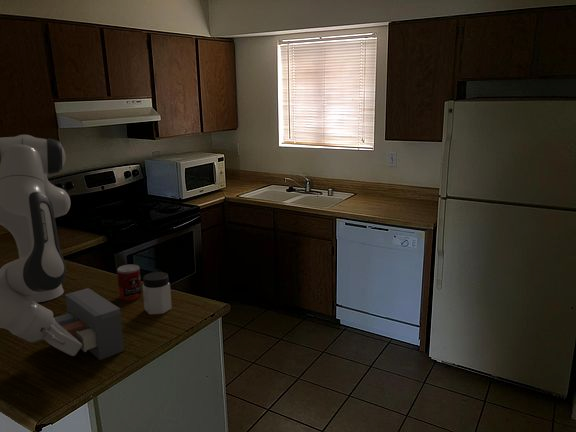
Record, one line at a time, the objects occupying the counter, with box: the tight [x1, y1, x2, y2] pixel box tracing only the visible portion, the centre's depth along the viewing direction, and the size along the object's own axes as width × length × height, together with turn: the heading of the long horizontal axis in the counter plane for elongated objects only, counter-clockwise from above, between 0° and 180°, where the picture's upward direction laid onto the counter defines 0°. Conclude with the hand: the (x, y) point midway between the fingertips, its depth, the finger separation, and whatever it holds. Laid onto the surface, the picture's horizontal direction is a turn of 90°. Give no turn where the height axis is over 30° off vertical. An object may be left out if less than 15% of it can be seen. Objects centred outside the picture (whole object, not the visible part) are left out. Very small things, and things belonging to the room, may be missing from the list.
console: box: [64, 287, 125, 361], centre depth 141 cm, size 7×21×13 cm, turn 45°
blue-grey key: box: [53, 313, 76, 326], centre depth 142 cm, size 8×4×4 cm, turn 135°
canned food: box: [116, 263, 143, 302], centre depth 174 cm, size 8×8×11 cm
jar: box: [142, 271, 173, 315], centre depth 163 cm, size 9×8×12 cm
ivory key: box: [76, 328, 97, 353], centre depth 135 cm, size 8×4×4 cm, turn 135°
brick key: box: [62, 320, 86, 339], centre depth 138 cm, size 8×4×4 cm, turn 135°
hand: (78, 344), depth 132 cm, fingers closed, pressing on ivory key
